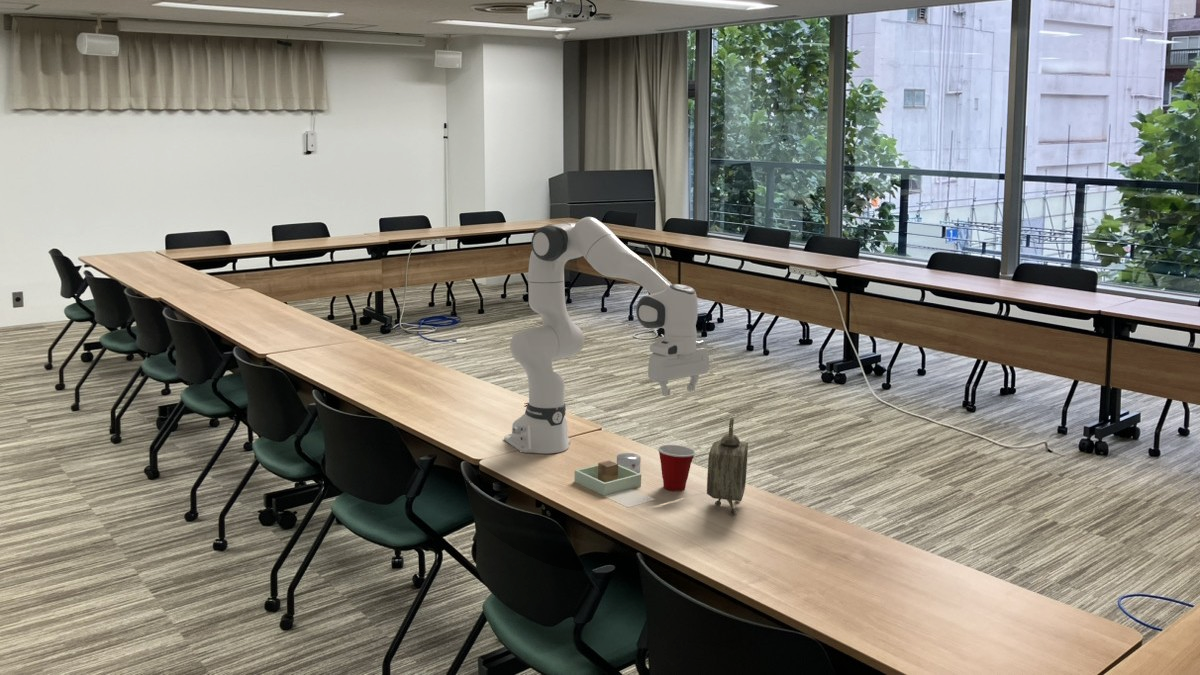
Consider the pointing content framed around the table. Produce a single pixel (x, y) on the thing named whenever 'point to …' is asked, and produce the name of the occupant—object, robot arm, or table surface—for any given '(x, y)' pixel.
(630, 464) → the metal tin
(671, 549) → the table surface
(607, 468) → the walnut block
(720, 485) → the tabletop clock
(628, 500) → the coaster
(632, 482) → the crate
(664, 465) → the plastic cup
